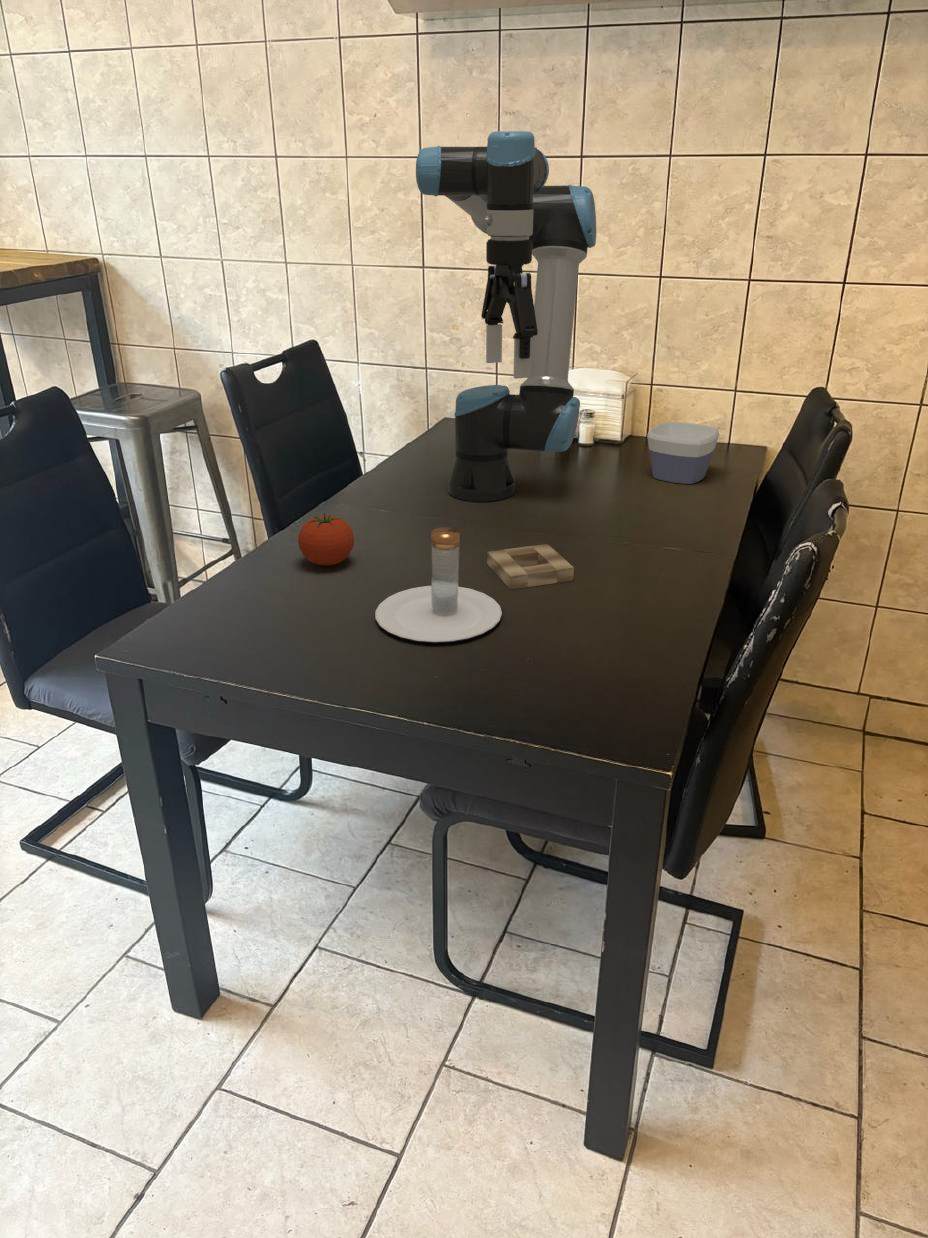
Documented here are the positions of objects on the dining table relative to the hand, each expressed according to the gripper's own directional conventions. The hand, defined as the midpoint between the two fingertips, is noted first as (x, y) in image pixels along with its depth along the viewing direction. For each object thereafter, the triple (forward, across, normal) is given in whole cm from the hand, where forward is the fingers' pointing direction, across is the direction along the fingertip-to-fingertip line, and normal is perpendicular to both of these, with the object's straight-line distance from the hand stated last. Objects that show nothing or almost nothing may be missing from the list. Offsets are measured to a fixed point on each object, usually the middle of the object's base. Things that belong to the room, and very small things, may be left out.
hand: (507, 369), depth 159 cm
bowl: (+35, -31, +56) cm, 73 cm away
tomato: (+35, -6, -33) cm, 48 cm away
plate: (+35, +22, -20) cm, 46 cm away
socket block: (+34, +10, +1) cm, 36 cm away
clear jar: (+33, +21, -18) cm, 43 cm away
